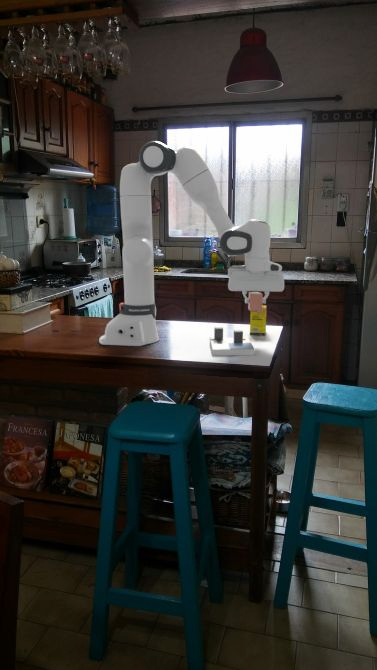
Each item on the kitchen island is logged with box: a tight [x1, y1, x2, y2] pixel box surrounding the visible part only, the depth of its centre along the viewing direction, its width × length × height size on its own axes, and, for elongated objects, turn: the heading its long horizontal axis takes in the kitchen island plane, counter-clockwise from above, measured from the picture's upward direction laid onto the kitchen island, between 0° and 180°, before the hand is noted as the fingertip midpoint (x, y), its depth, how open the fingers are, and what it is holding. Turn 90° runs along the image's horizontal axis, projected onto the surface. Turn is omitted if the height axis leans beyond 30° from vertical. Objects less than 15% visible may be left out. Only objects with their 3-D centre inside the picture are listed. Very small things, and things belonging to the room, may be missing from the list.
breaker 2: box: [233, 330, 244, 343], centre depth 190 cm, size 3×2×4 cm
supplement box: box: [249, 304, 267, 336], centre depth 213 cm, size 6×6×11 cm
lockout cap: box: [247, 291, 264, 312], centre depth 197 cm, size 4×4×6 cm
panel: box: [209, 337, 255, 356], centre depth 190 cm, size 14×17×2 cm
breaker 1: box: [213, 326, 224, 340], centre depth 195 cm, size 3×2×4 cm
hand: (255, 303), depth 197 cm, fingers closed on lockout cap, 4 cm apart
